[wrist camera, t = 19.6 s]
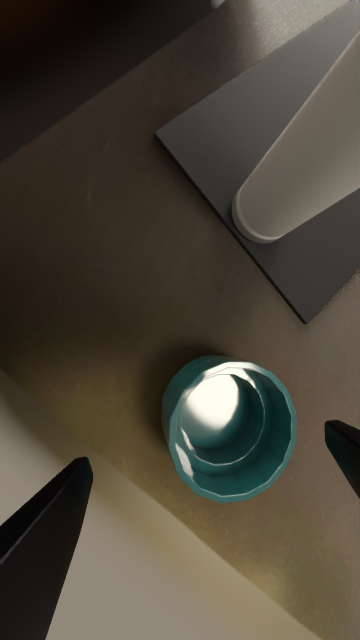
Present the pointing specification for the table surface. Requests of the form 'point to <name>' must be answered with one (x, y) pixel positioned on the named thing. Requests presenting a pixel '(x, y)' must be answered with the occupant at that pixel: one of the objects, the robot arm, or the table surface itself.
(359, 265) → the mat
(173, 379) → the bowl
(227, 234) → the table surface
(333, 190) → the travel mug
